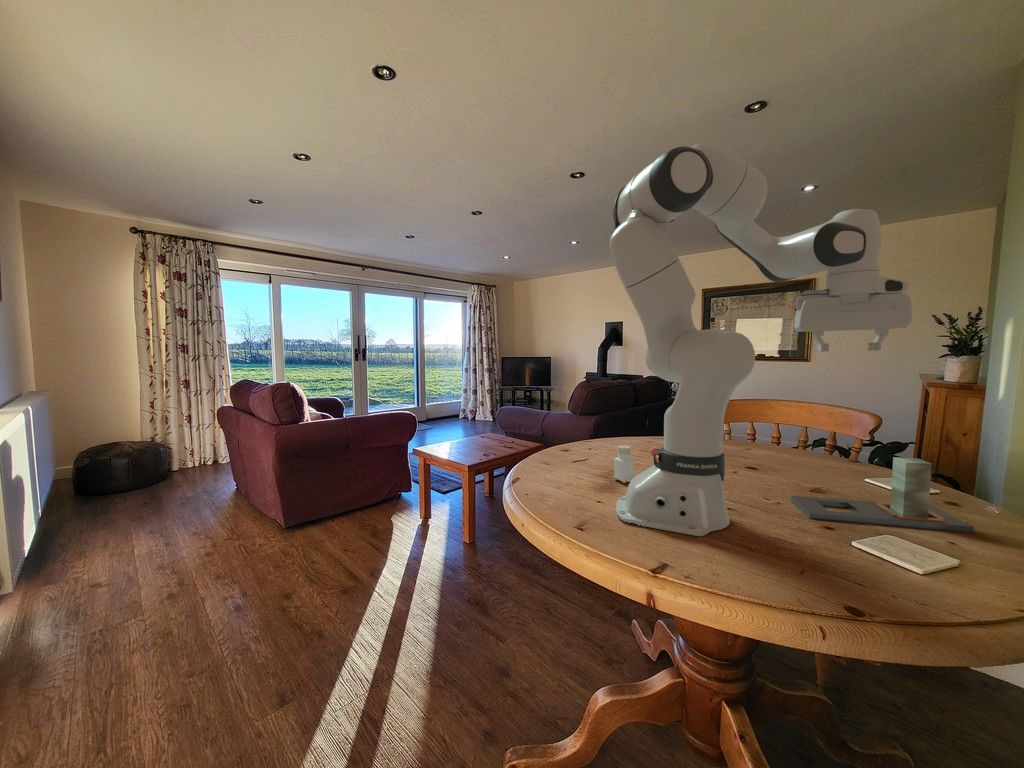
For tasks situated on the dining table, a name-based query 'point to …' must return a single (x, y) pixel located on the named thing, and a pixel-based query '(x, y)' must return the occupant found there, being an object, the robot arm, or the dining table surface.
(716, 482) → the robot arm
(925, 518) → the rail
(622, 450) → the white pill bottle
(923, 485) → the peg
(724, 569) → the dining table surface
